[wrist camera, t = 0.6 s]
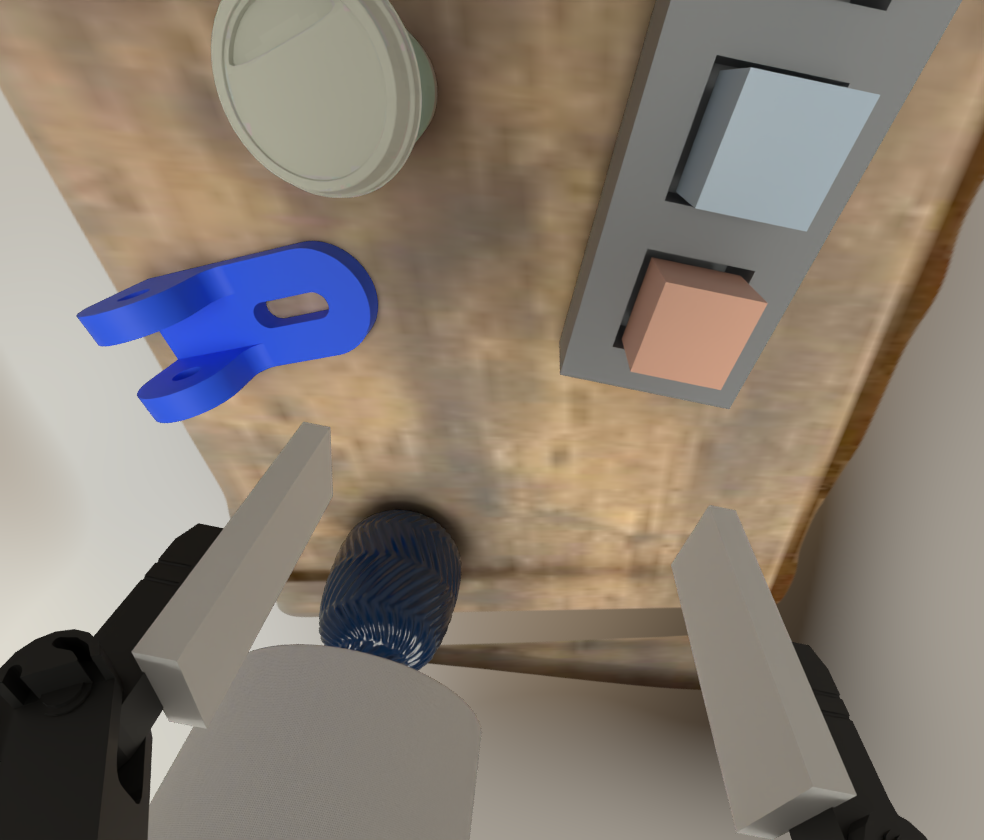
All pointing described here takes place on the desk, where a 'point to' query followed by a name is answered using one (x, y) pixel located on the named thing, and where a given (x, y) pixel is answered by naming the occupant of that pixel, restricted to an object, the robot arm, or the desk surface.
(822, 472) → the desk surface
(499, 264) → the desk surface
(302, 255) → the bracket
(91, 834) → the robot arm
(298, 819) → the lamp
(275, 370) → the desk surface
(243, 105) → the coffee cup
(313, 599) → the desk surface
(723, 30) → the grey socket block
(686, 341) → the terracotta key
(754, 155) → the slate key
